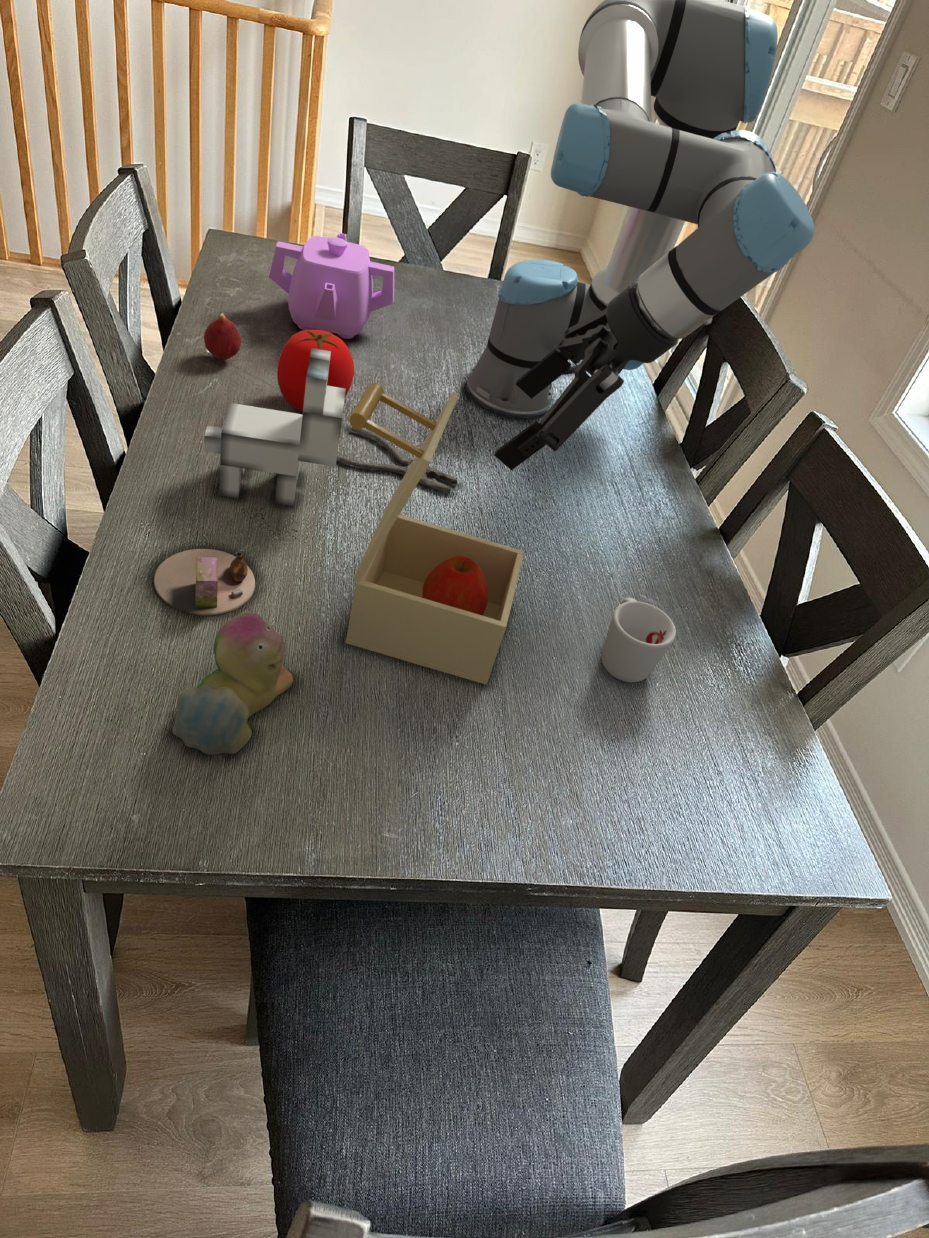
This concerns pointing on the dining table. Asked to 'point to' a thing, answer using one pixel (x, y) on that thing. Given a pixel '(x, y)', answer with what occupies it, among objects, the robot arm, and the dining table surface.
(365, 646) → the chest
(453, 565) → the apple
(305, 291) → the teapot
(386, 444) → the pliers
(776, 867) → the dining table surface
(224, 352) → the onion
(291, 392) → the tomato
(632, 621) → the cup
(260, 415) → the toy llama
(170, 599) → the pink plate
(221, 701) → the sculpture
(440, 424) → the lid
